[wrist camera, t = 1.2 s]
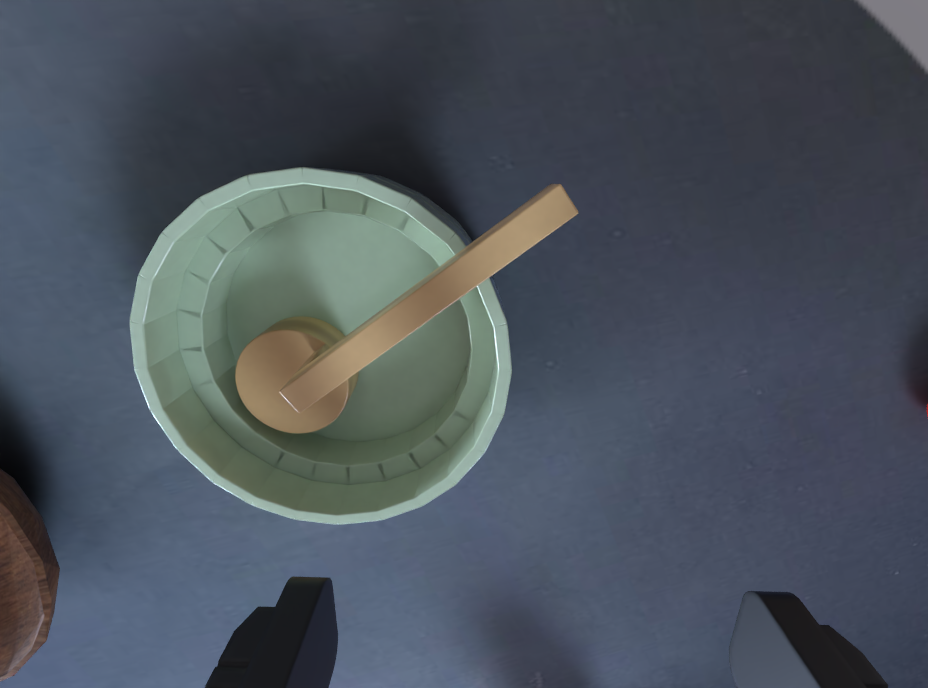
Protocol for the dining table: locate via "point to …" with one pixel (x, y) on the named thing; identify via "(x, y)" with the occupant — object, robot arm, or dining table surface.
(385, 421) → the mixing bowl
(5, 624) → the bowl
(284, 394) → the ladle
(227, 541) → the dining table surface
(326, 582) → the robot arm
